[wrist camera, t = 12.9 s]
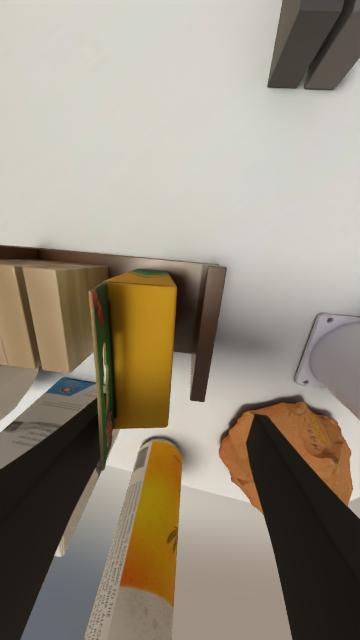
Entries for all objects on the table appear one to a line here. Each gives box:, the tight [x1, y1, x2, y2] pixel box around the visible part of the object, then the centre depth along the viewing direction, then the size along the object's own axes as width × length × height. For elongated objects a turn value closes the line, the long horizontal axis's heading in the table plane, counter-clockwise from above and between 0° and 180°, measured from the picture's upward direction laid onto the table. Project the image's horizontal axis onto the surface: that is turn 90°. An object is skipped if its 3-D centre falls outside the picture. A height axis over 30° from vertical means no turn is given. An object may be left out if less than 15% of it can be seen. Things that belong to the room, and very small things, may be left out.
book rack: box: [0, 245, 227, 402], centre depth 15 cm, size 18×9×8 cm, turn 85°
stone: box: [219, 402, 353, 515], centre depth 20 cm, size 15×15×10 cm
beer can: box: [84, 438, 182, 640], centre depth 18 cm, size 6×6×15 cm
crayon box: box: [88, 269, 177, 471], centre depth 11 cm, size 7×3×12 cm, turn 175°
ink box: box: [0, 378, 120, 557], centre depth 17 cm, size 8×5×12 cm, turn 80°
